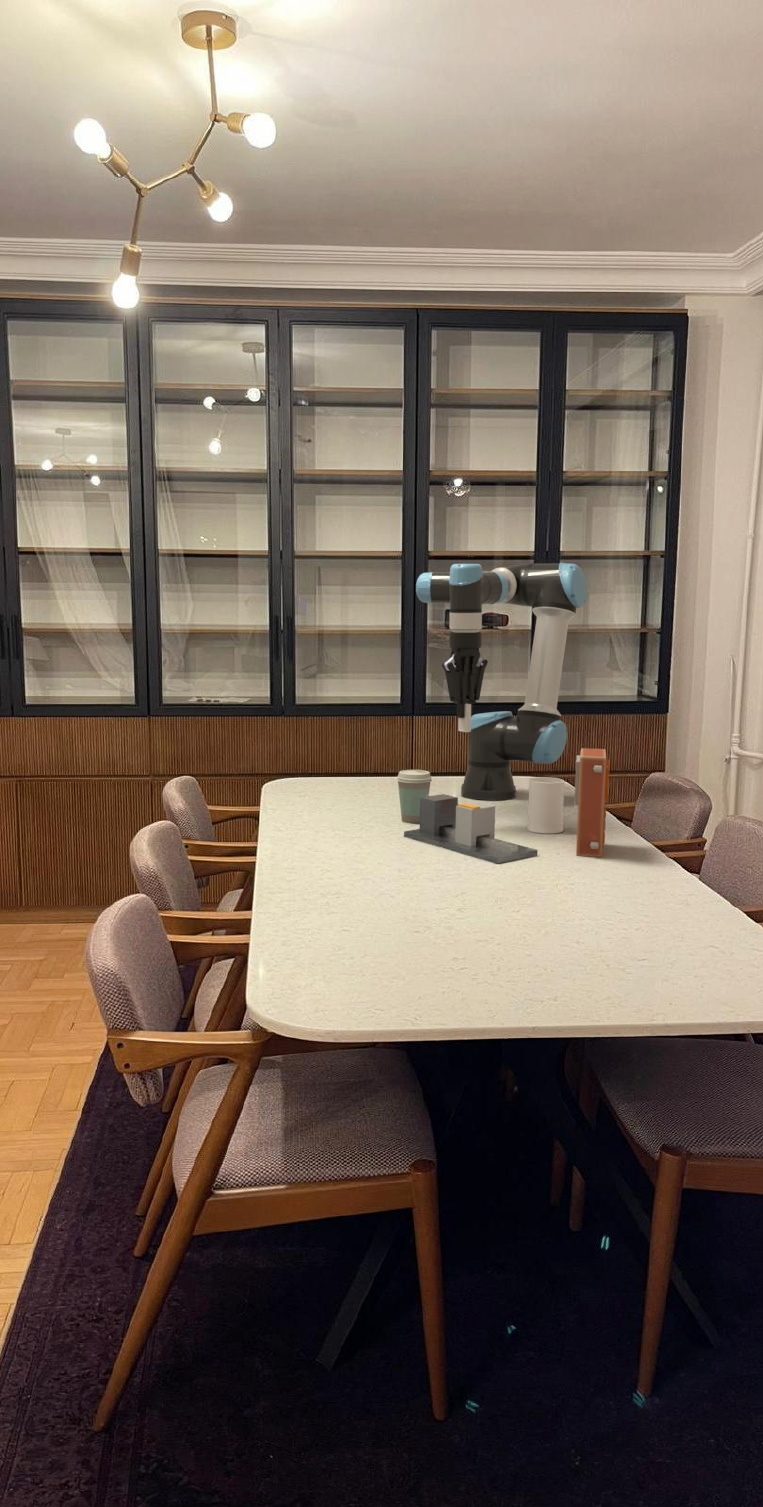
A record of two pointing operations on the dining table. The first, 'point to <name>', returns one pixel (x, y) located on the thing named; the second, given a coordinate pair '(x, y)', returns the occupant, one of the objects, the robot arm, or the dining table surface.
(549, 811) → the mug
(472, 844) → the module
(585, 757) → the control panel
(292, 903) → the dining table surface
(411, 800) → the coffee cup
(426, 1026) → the dining table surface
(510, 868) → the dining table surface
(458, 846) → the rail board
